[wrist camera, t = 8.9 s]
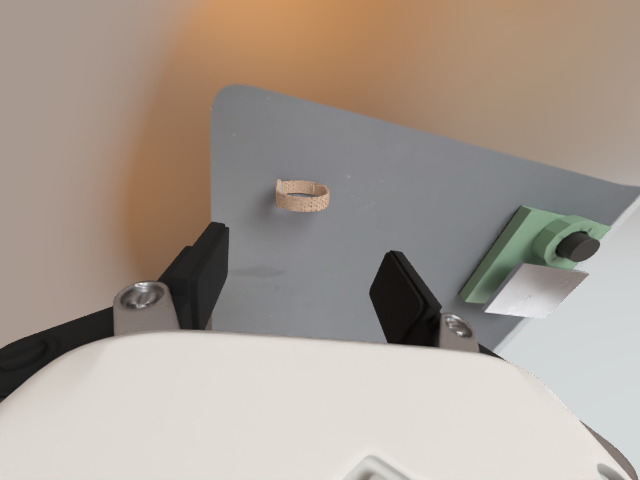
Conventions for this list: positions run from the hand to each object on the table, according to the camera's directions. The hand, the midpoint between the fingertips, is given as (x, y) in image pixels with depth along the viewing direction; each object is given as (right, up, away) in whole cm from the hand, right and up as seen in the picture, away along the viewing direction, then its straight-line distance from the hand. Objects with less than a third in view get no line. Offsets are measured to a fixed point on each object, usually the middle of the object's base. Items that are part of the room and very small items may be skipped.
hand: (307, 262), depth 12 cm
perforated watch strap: (-1, +7, +11) cm, 13 cm away
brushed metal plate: (+28, -5, +17) cm, 33 cm away
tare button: (+29, +1, +14) cm, 33 cm away
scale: (+28, -2, +19) cm, 34 cm away
